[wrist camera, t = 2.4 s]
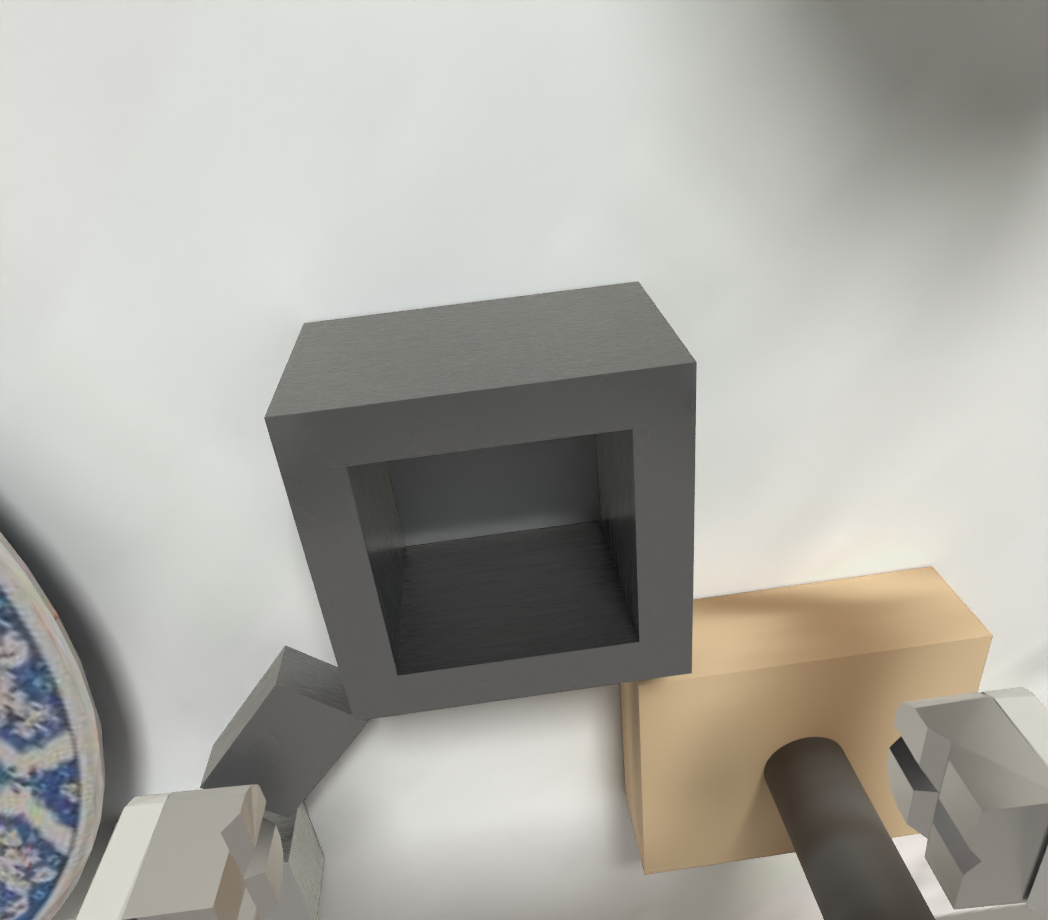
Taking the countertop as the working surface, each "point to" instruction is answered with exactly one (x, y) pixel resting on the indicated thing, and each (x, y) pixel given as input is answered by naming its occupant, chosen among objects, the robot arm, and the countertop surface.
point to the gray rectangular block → (285, 732)
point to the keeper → (797, 732)
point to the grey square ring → (503, 559)
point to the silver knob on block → (297, 867)
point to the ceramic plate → (43, 751)
